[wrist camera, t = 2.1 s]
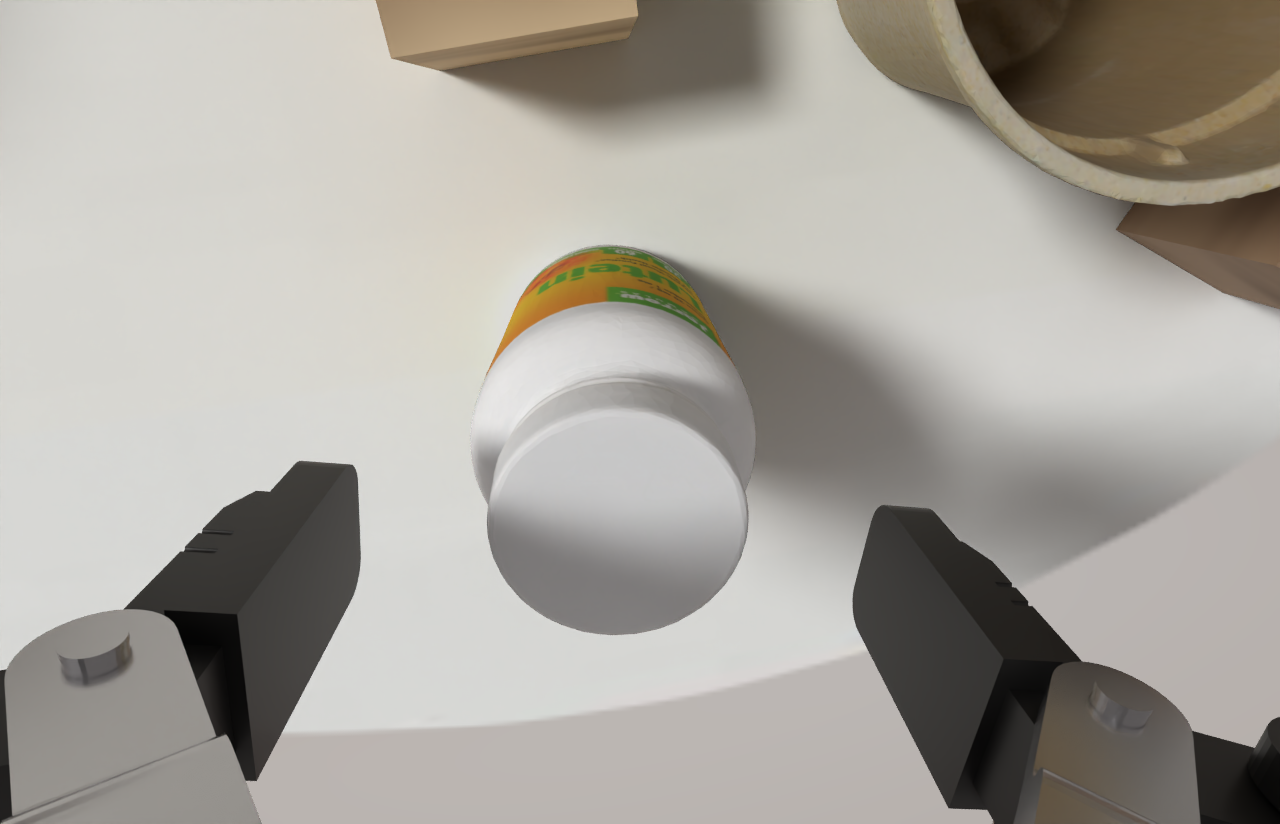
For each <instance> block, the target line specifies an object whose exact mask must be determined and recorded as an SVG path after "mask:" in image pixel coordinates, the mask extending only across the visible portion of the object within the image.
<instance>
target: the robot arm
mask: <svg viewBox="0 0 1280 824" xmlns="http://www.w3.org/2000/svg"><path fill="white" fill-rule="evenodd" d="M360 560H361V551H360V525H359V499H358V478H357V473H356V469H355V467H354V466H353V465H350V464H336V463H323V462H309V461H299V462H297V463H296V464H295V465H294V466H293V467H292V468H291V469H290V470H289V471H288V472H287V474H286V475H285V476H284V477H283V478H282V479H281V480H280V481H279V482H278V484H277V485H276V486H275V487H274V488H273V489H272V490H271V491H270V492H264V491H255V492H253V493H251V494H249V495H247V496H245V497H243V498H242V499H240V500H238V501H236V502H234V503H232V504H230V505H228V506H226V507H224V508H223V509H222V510H221V511H220V512H219V513H218V514H217V515H216V516H215V517H214V518H213V519H212V520H211V521H210V522H209V523H208V524H207V525H206V526H205V527H204V528H203V531H202V533H198V534H197V535H196V536H195V537H194V538H193V539H192V540H191V541H190V542H189V543H188V544H187V545H186V546H185V551H184V552H181V551H180V552H179V554H178V555H177V556H176V557H175V558H174V559H173V560H172V561H171V562H170V563H169V564H168V565H167V566H166V567H165V568H164V569H163V570H162V571H161V572H160V573H159V574H158V575H157V576H156V577H155V578H154V579H153V580H152V581H151V582H150V583H149V584H148V585H147V586H146V587H145V588H144V589H143V590H142V591H141V592H140V593H139V594H138V595H137V596H136V597H135V598H134V599H133V600H132V601H131V602H130V603H129V604H128V605H127V606H126V607H125V608H124V609H123V610H113V611H107V612H101V613H96V614H92V615H88V616H85V617H81V618H78V619H75V620H72V621H70V622H67V623H65V624H62V625H60V626H58V627H56V628H54V629H52V630H50V631H48V632H46V633H44V634H42V635H41V636H39V637H37V638H36V639H34V640H33V641H32V642H30V643H29V644H28V645H26V646H25V647H24V648H23V649H22V650H21V651H20V652H19V653H18V654H17V655H16V656H15V657H14V658H13V660H12V661H11V662H10V664H9V666H8V668H7V669H6V670H1V671H0V824H262V823H261V820H260V818H259V815H258V812H257V810H256V807H255V804H254V802H253V799H252V796H251V794H250V791H249V789H248V786H247V783H246V781H257V779H258V777H259V775H260V773H261V771H262V769H263V767H264V766H265V764H266V762H267V760H268V758H269V756H270V754H271V752H272V750H273V748H274V746H275V744H276V743H277V741H278V739H279V737H280V735H281V733H282V731H283V729H284V727H285V725H286V724H287V722H288V720H289V718H290V716H291V714H292V712H293V710H294V708H295V706H296V704H297V703H298V701H299V699H300V697H301V695H302V693H303V691H304V689H305V687H306V685H307V683H308V682H309V680H310V678H311V676H312V674H313V672H314V670H315V668H316V666H317V664H318V662H319V661H320V659H321V657H322V655H323V653H324V651H325V649H326V647H327V645H328V643H329V641H330V640H331V638H332V636H333V634H334V632H335V630H336V628H337V626H338V624H339V622H340V620H341V619H342V617H343V615H344V613H345V611H346V609H347V607H348V605H349V603H350V601H351V599H352V597H353V595H354V592H355V589H356V586H357V582H358V577H359V571H360ZM853 615H854V620H855V624H856V627H857V629H858V631H859V633H860V635H861V637H862V639H863V641H864V643H865V645H866V647H867V649H868V651H869V653H870V655H871V657H872V659H873V661H874V662H875V665H876V667H877V669H878V671H879V673H880V674H881V676H882V678H883V680H884V682H885V684H886V686H887V688H888V690H889V692H890V694H891V696H892V698H893V700H894V702H895V704H896V706H897V708H898V710H899V712H900V714H901V716H902V718H903V720H904V721H905V723H906V726H907V727H908V729H909V731H910V733H911V735H912V737H913V739H914V741H915V743H916V745H917V747H918V749H919V751H920V753H921V755H922V757H923V759H924V761H925V763H926V764H927V767H928V769H929V770H930V772H931V774H932V776H933V778H934V780H935V782H936V784H937V786H938V788H939V790H940V792H941V794H942V796H943V798H944V800H945V802H946V804H947V806H948V808H953V809H982V810H988V812H989V813H990V815H991V817H992V819H993V823H992V824H1280V717H1278V718H1276V719H1273V720H1272V721H1271V722H1270V723H1269V724H1268V726H1267V727H1266V729H1265V731H1264V733H1263V735H1262V736H1261V738H1260V740H1259V742H1258V744H1257V745H1256V747H1255V748H1253V747H1249V746H1246V745H1242V744H1238V743H1234V742H1231V741H1227V740H1224V739H1220V738H1216V737H1212V736H1208V735H1205V734H1202V733H1198V732H1194V731H1192V729H1191V727H1190V725H1189V723H1188V721H1187V719H1186V718H1185V717H1184V715H1183V714H1182V713H1181V712H1180V711H1179V710H1178V709H1177V707H1176V706H1175V705H1173V704H1172V703H1171V702H1170V701H1169V700H1168V699H1167V698H1166V697H1164V696H1163V695H1162V694H1160V693H1159V692H1158V691H1156V690H1155V689H1153V688H1152V687H1150V686H1148V685H1147V684H1145V683H1144V682H1142V681H1140V680H1138V679H1136V678H1134V677H1132V676H1130V675H1128V674H1126V673H1123V672H1121V671H1118V670H1116V669H1113V668H1110V667H1107V666H1103V665H1099V664H1094V663H1089V662H1082V661H1081V660H1080V659H1079V657H1078V656H1077V655H1076V654H1075V653H1074V652H1073V651H1072V650H1071V649H1070V647H1069V646H1068V645H1067V644H1066V643H1065V642H1064V641H1063V640H1062V639H1061V637H1060V636H1059V635H1058V634H1057V633H1056V632H1055V631H1054V630H1053V628H1052V627H1051V626H1050V625H1049V624H1048V623H1047V622H1046V621H1045V620H1044V619H1043V617H1042V616H1041V615H1040V614H1039V613H1038V612H1037V611H1036V610H1035V609H1034V608H1033V606H1028V601H1027V600H1026V598H1025V597H1024V596H1023V595H1022V594H1021V593H1020V592H1019V591H1018V590H1017V588H1014V587H1012V583H1011V582H1010V581H1009V580H1008V578H1007V577H1006V576H1005V575H1004V574H1003V573H1002V572H1001V571H1000V569H999V568H998V567H997V566H996V565H995V564H994V563H993V562H992V561H991V560H989V559H988V558H986V557H985V556H983V555H982V554H980V553H979V552H977V551H976V550H974V549H973V548H971V547H970V546H968V545H967V544H965V543H964V542H960V541H959V540H958V539H957V538H956V537H955V536H954V534H953V533H952V532H951V531H950V530H949V529H948V527H947V526H946V525H945V524H944V523H943V522H942V520H941V519H940V518H939V517H938V516H937V515H936V514H935V512H933V511H932V510H931V509H928V508H915V507H902V506H888V505H882V506H880V507H879V508H878V509H877V510H876V511H875V513H874V515H873V518H872V521H871V525H870V528H869V532H868V536H867V540H866V544H865V548H864V551H863V555H862V559H861V563H860V567H859V571H858V574H857V578H856V582H855V586H854V591H853Z"/></svg>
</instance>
